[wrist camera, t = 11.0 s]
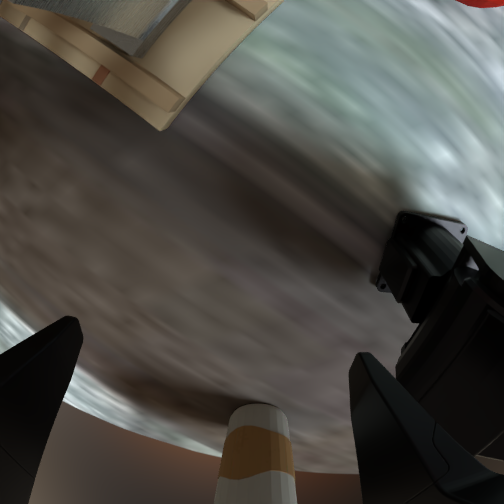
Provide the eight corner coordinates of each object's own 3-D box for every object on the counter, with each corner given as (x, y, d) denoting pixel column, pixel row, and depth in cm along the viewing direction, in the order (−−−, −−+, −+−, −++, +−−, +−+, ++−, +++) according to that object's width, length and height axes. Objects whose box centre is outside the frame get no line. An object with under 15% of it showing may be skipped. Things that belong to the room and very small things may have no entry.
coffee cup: (241, 438, 35) (234, 546, 21) (207, 405, 31) (188, 532, 18) (305, 425, 33) (312, 541, 19) (279, 389, 29) (281, 531, 16)
